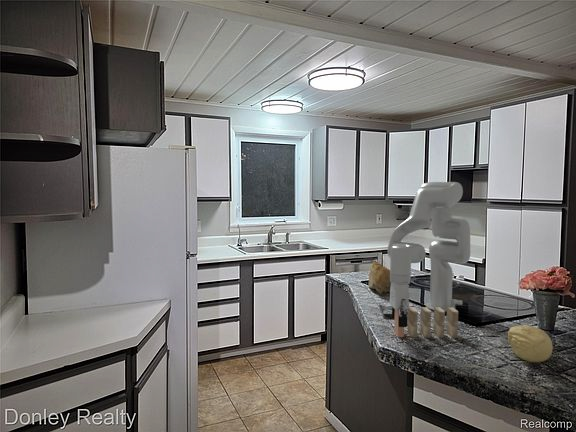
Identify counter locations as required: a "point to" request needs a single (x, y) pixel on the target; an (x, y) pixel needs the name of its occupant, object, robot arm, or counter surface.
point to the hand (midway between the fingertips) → (399, 322)
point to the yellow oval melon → (530, 343)
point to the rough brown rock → (379, 278)
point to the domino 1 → (398, 330)
